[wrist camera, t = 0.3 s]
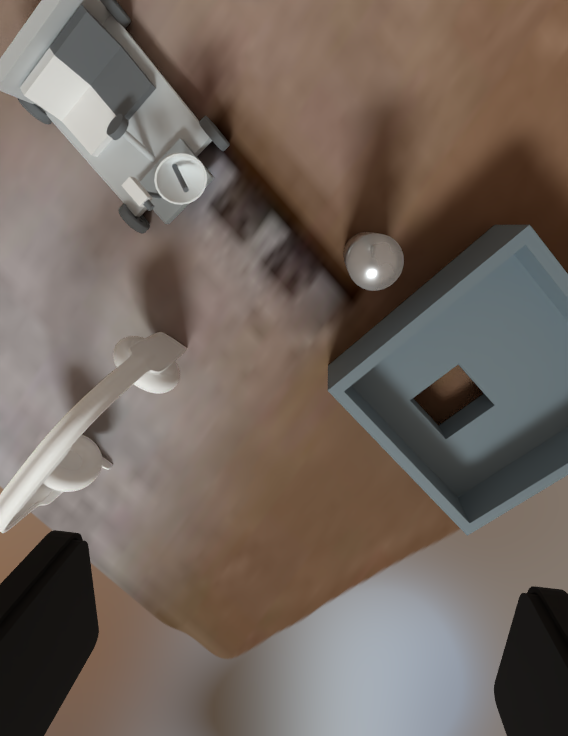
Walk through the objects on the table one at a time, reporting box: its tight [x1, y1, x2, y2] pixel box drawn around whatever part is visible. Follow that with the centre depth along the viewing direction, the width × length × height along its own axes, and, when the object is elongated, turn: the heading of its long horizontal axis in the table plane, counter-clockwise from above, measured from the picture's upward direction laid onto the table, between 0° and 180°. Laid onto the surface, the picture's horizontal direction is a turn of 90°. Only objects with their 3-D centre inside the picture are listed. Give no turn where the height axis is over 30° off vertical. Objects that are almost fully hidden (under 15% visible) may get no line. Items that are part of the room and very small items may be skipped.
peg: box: [343, 232, 404, 291], centre depth 35 cm, size 4×4×10 cm
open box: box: [328, 225, 568, 535], centre depth 39 cm, size 20×20×7 cm
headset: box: [0, 332, 187, 533], centre depth 39 cm, size 20×7×18 cm, turn 139°
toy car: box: [0, 0, 229, 233], centre depth 34 cm, size 18×10×12 cm
